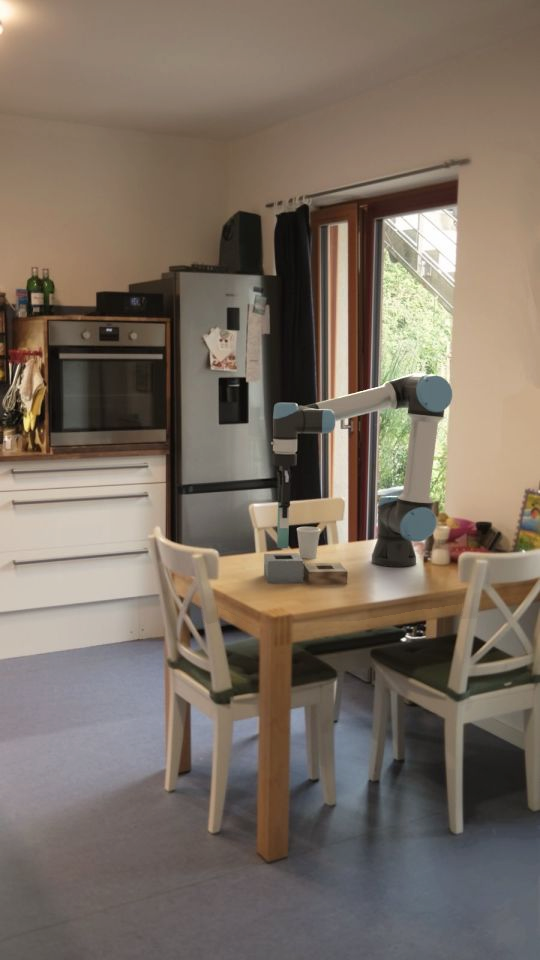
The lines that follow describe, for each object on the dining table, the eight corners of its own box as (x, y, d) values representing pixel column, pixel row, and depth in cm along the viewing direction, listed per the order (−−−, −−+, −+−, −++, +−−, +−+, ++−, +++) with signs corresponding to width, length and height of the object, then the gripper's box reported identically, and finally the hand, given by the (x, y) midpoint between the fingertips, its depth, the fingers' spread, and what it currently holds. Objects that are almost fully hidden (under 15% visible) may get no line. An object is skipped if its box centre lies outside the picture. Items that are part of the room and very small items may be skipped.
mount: (339, 574, 315) (340, 562, 315) (347, 583, 304) (347, 571, 303) (303, 575, 314) (303, 563, 313) (309, 584, 302) (309, 571, 302)
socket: (297, 574, 315) (298, 553, 314) (303, 582, 304) (303, 560, 303) (263, 575, 314) (264, 553, 313) (267, 583, 303) (268, 561, 302)
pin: (287, 546, 310) (288, 502, 308) (288, 548, 306) (289, 504, 304) (276, 546, 309) (277, 502, 307) (277, 548, 306) (278, 504, 304)
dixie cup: (316, 560, 337) (316, 531, 335) (293, 558, 339) (293, 530, 338) (322, 555, 345) (323, 527, 343) (299, 553, 347) (300, 525, 346)
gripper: (269, 449, 311) (268, 522, 315) (276, 455, 295) (274, 531, 298) (292, 449, 312) (291, 522, 315) (300, 455, 296) (298, 531, 299)
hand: (283, 526), depth 307 cm, fingers closed on pin, 3 cm apart
